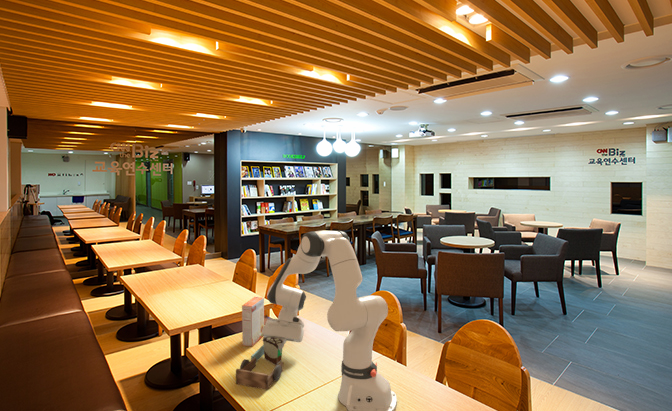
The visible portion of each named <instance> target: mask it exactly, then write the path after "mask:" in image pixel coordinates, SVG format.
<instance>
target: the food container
mask: <svg viewBox="0 0 672 411" xmlns="http://www.w3.org/2000/svg"><path fill="white" fill-rule="evenodd" d="M262 342H263V344H262V345H264V355H263V357H264V360H266V361H267V362H269V363H271V364H272V365H274V366H276V365H278V364H279V363H280V362H282V359H283V358H282V356H283V348H284V347H285V344H284V342H283V339H282V338H280V337H277V336H267V337H264V336H263V337H262Z"/></svg>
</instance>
